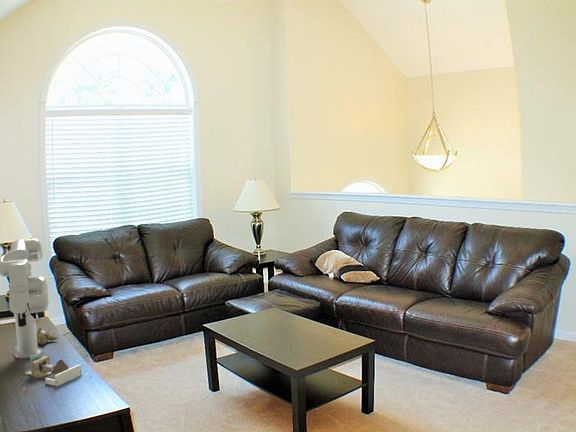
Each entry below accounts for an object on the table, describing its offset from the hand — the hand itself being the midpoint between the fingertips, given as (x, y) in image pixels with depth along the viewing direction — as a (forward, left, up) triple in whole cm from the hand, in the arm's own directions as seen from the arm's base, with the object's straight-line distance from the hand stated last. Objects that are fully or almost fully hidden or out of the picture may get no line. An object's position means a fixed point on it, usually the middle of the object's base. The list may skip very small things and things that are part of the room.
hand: (22, 325), depth 275 cm
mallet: (+14, 0, -21) cm, 25 cm away
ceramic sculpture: (-30, +33, -23) cm, 50 cm away
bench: (+9, 0, -23) cm, 24 cm away
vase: (+25, 0, -23) cm, 33 cm away
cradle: (+26, 0, -23) cm, 34 cm away
